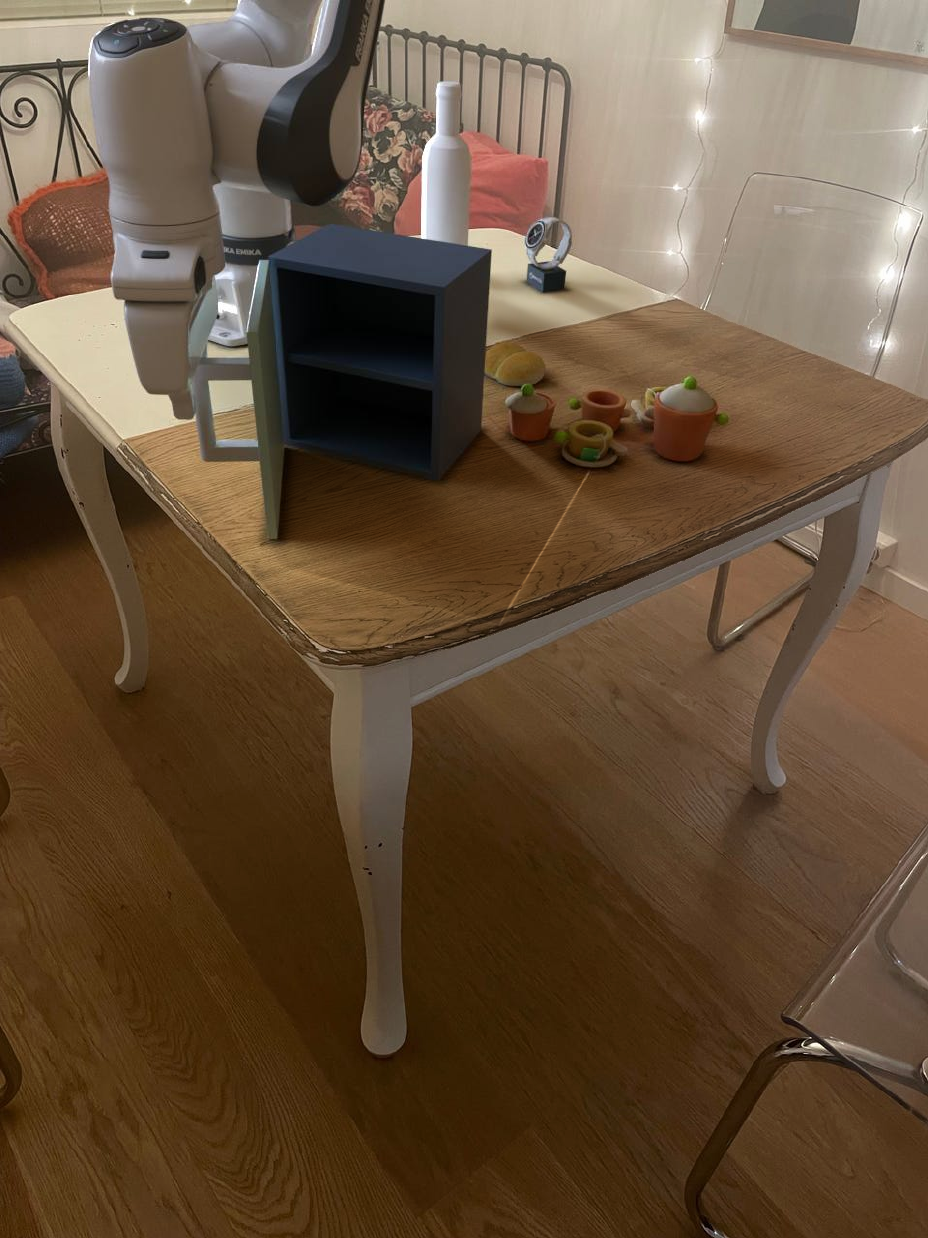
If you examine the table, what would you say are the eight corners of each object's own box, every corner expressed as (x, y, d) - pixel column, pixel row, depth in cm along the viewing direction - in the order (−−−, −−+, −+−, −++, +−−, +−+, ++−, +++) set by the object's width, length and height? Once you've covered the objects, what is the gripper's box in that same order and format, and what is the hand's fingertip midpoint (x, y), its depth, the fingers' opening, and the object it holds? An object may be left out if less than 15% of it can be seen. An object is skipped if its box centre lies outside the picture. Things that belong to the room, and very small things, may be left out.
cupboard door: (209, 541, 95) (178, 331, 82) (226, 447, 111) (202, 259, 97) (277, 539, 96) (257, 331, 82) (284, 446, 111) (269, 259, 98)
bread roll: (514, 393, 126) (517, 365, 124) (471, 371, 132) (472, 343, 129) (558, 378, 131) (561, 351, 128) (514, 357, 136) (516, 330, 133)
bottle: (476, 283, 161) (486, 84, 142) (445, 294, 156) (451, 89, 137) (441, 272, 165) (447, 76, 146) (410, 282, 160) (412, 81, 141)
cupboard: (438, 481, 107) (444, 287, 93) (283, 445, 112) (267, 256, 98) (481, 430, 117) (491, 249, 104) (337, 399, 122) (330, 223, 109)
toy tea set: (679, 406, 125) (693, 336, 119) (733, 462, 113) (752, 387, 108) (491, 421, 119) (496, 348, 114) (528, 481, 108) (535, 403, 102)
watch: (516, 283, 162) (521, 216, 155) (556, 278, 165) (562, 212, 158) (532, 293, 158) (538, 225, 151) (573, 288, 161) (580, 221, 154)
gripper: (155, 211, 88) (177, 354, 96) (104, 286, 72) (135, 449, 80) (224, 213, 88) (239, 355, 97) (188, 287, 72) (211, 449, 81)
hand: (192, 398), depth 88 cm, fingers open, 6 cm apart
